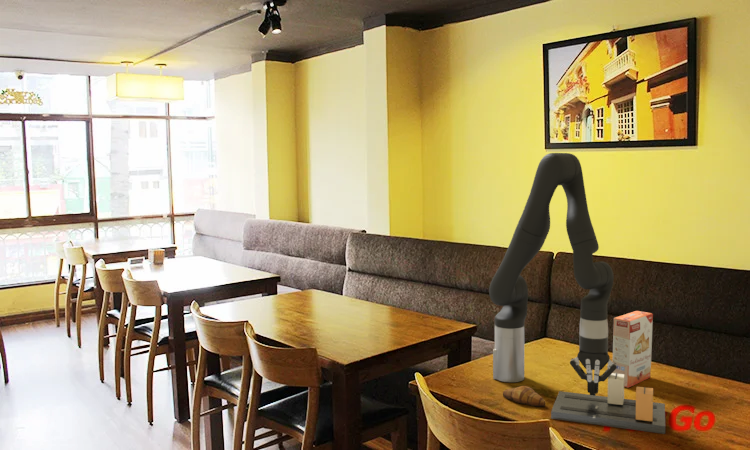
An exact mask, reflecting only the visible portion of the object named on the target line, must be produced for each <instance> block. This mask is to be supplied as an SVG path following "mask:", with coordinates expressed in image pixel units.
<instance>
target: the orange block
mask: <svg viewBox="0 0 750 450" xmlns="http://www.w3.org/2000/svg"><path fill="white" fill-rule="evenodd" d="M635 400H636V420H644V421H653V402H654V388H653V387H646V386H644V387H643V386H636V390H635Z"/></svg>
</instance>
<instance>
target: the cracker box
mask: <svg viewBox="0 0 750 450" xmlns="http://www.w3.org/2000/svg"><path fill="white" fill-rule="evenodd" d="M653 318H654V313H652V312H646V311H640V310H635V311H632V312H628V313H626V314H625V313H624V314H623V315H619V316H616V317H613V330H612V331H613V332H612V333H613V334H612V335H613V339H612V340H613V341H612V362H613V363H616V364H617V368H616V369H615V371H614V372H613V373H617V374H624V388H630V387H633V386H635V385H638V384H639V383H641V382H643V381H645V380H648V379H649V378H651V372H652V371H651V370H652V367H651V366H652V351H653V350H652V345H653V325H654V324H653V323H654V322H653V320H654V319H653Z"/></svg>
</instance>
